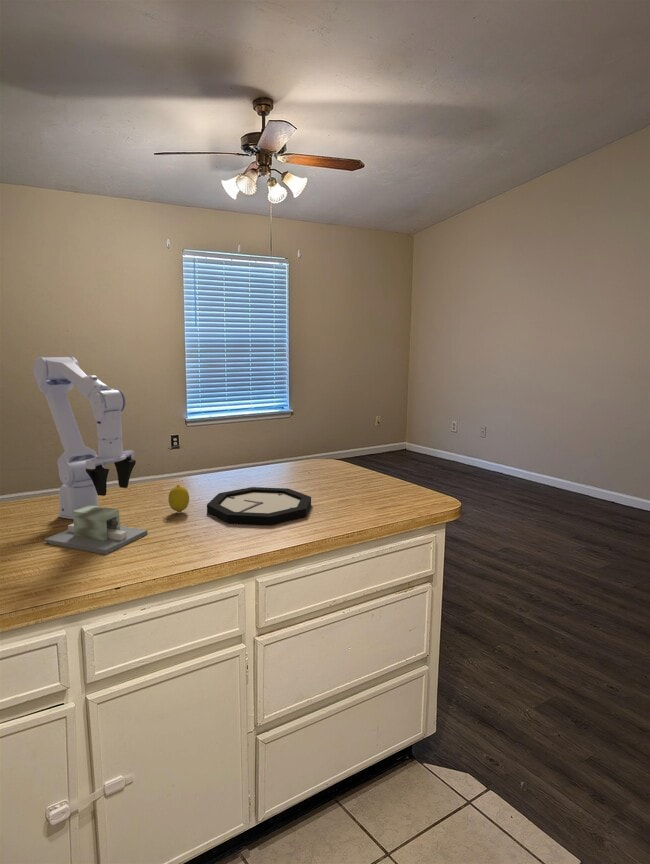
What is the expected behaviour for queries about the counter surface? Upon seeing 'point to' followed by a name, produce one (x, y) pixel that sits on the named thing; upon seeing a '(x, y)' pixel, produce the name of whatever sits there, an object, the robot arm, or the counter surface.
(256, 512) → the wall clock
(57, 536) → the cleat board
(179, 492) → the lemon
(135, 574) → the counter surface
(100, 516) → the cabinet block
